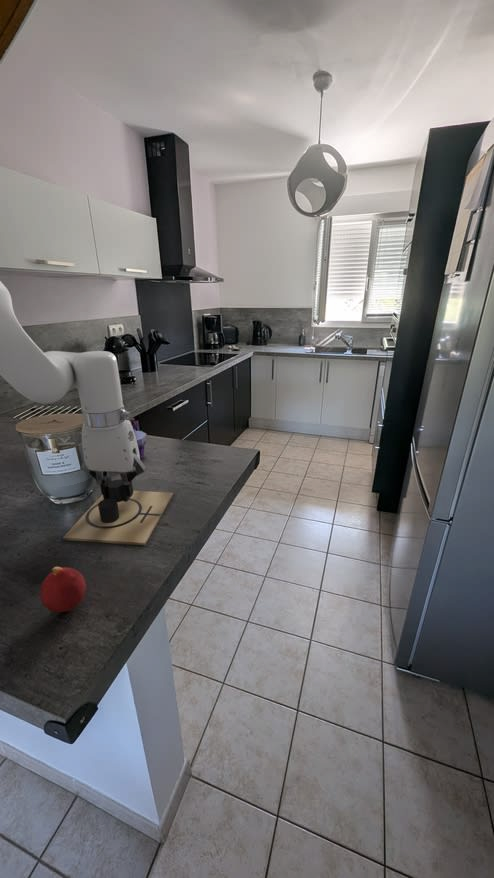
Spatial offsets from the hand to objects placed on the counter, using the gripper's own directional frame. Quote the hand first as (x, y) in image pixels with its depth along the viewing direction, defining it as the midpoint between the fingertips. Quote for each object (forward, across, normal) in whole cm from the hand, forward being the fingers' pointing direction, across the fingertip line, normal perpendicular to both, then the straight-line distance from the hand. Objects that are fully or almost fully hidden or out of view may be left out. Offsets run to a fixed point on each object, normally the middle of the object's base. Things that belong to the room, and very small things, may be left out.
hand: (118, 497), depth 76 cm
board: (+3, -2, +2) cm, 4 cm away
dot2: (0, 0, 0) cm, 0 cm away
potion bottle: (+3, +7, -25) cm, 26 cm away
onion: (+3, -4, +26) cm, 27 cm away
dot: (+2, 0, +4) cm, 5 cm away
